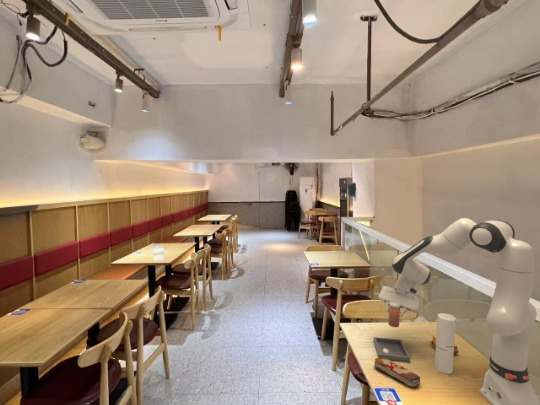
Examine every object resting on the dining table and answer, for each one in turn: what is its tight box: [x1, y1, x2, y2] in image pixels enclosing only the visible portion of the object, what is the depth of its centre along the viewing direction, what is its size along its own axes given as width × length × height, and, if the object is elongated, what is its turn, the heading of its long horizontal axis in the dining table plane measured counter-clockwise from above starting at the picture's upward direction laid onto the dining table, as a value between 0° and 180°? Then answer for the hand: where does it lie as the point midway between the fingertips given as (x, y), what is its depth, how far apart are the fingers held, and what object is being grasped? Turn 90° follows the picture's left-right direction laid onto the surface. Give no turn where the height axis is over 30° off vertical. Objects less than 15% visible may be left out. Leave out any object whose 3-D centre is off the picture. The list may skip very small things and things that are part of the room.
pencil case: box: [374, 357, 421, 388], centre depth 132 cm, size 11×20×5 cm, turn 26°
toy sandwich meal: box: [429, 335, 459, 354], centre depth 154 cm, size 12×14×5 cm
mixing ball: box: [382, 349, 389, 354], centre depth 147 cm, size 3×3×3 cm
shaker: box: [387, 301, 401, 328], centre depth 149 cm, size 5×5×11 cm
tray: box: [373, 336, 411, 364], centre depth 150 cm, size 16×14×2 cm
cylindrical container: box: [434, 312, 457, 375], centre depth 136 cm, size 7×7×25 cm
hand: (393, 313), depth 148 cm, fingers closed on shaker, 5 cm apart
